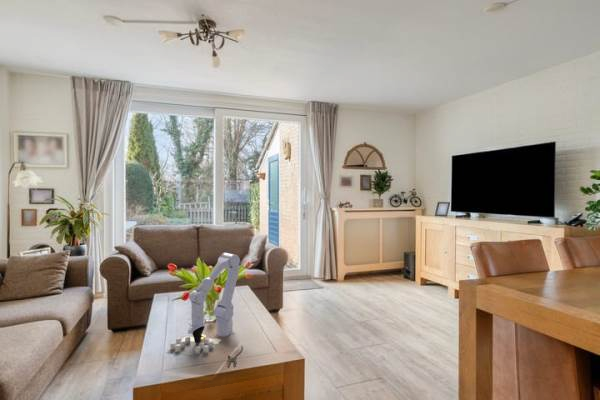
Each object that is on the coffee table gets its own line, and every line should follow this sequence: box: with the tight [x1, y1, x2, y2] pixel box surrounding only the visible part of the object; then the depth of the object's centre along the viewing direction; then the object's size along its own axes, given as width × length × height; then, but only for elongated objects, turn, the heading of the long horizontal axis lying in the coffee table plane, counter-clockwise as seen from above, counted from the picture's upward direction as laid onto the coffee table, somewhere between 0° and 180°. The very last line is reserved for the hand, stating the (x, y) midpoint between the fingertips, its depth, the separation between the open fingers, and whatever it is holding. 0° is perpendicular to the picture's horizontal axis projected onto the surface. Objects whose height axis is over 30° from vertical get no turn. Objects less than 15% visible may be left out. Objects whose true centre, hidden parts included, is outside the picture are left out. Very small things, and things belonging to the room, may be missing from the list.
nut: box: [199, 334, 207, 343], centre depth 165 cm, size 6×5×2 cm
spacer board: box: [166, 335, 222, 358], centre depth 159 cm, size 18×20×4 cm
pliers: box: [226, 345, 244, 368], centre depth 153 cm, size 10×1×20 cm
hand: (197, 342), depth 162 cm, fingers closed
